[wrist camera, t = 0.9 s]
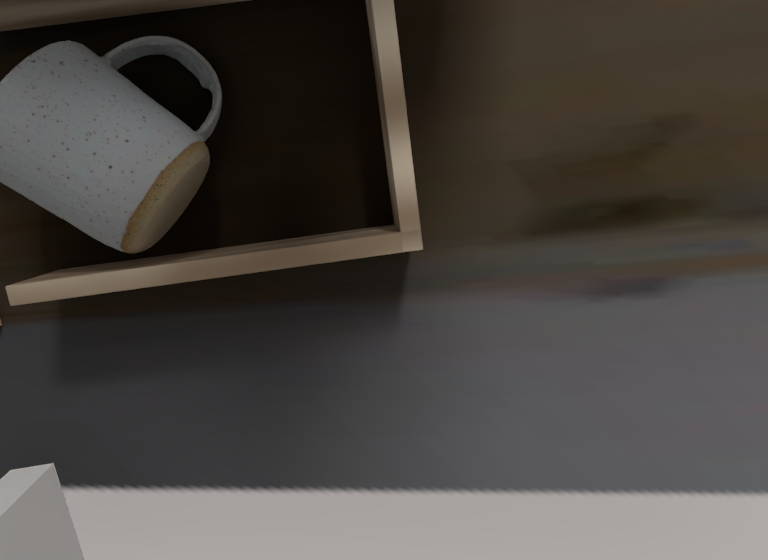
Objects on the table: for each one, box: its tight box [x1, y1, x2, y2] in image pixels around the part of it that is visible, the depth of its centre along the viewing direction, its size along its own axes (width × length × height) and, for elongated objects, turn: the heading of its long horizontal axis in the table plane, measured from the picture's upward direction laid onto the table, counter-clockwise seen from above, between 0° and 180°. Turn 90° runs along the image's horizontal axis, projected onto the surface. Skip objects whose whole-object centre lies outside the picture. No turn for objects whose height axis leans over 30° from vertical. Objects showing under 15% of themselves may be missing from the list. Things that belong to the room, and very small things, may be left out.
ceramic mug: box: [0, 36, 222, 254], centre depth 27 cm, size 11×8×8 cm
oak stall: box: [0, 0, 423, 306], centre depth 28 cm, size 15×20×5 cm
